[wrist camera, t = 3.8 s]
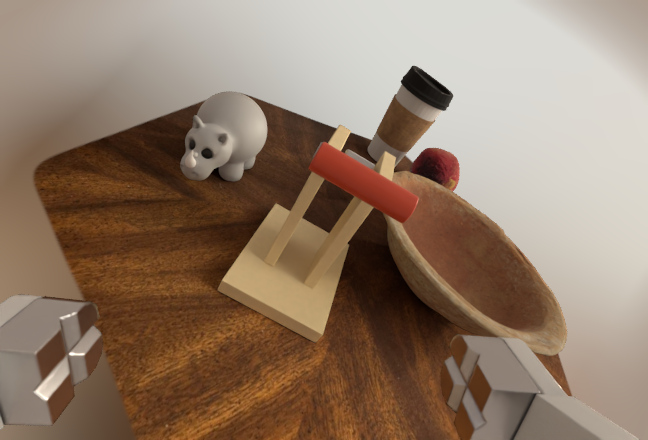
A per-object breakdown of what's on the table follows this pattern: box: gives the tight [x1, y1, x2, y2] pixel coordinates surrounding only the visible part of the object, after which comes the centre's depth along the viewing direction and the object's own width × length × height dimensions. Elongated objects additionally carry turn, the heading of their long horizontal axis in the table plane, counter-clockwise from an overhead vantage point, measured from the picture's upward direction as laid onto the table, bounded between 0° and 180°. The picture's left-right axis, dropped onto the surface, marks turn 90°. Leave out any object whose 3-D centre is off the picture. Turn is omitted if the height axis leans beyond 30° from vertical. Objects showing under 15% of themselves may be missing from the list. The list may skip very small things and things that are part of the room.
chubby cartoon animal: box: [180, 92, 267, 181], centre depth 34 cm, size 7×12×8 cm, turn 163°
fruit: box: [410, 148, 459, 192], centre depth 55 cm, size 8×8×8 cm
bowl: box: [383, 171, 567, 356], centre depth 39 cm, size 24×24×8 cm
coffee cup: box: [368, 66, 453, 167], centre depth 57 cm, size 8×8×15 cm
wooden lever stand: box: [217, 125, 396, 343], centre depth 28 cm, size 12×9×14 cm
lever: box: [309, 142, 418, 223], centre depth 21 cm, size 12×5×2 cm, turn 165°
